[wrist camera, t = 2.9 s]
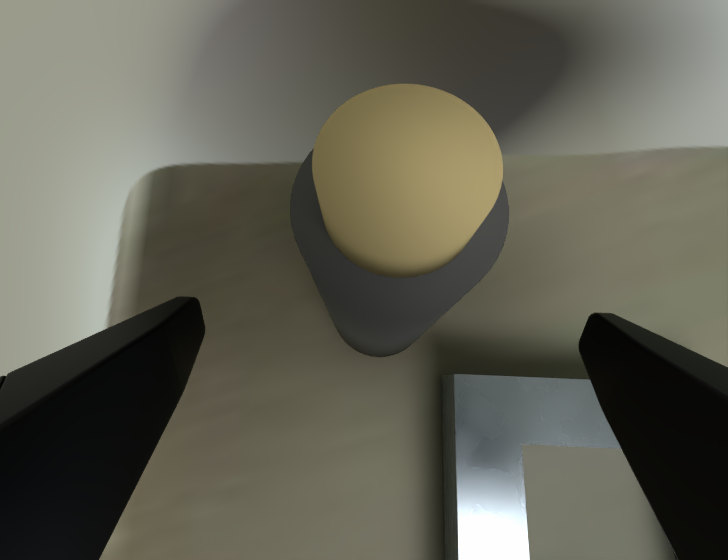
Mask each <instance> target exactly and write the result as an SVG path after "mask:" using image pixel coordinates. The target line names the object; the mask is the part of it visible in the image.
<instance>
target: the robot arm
mask: <svg viewBox="0 0 728 560" xmlns="http://www.w3.org/2000/svg"><path fill="white" fill-rule="evenodd" d="M204 335H205V324H204V320H203V315H202V311H201V306H200V303H199V300H198V299H197V298H195V297H184V296H180V297H176V298H174V299H171V300H169V301H167V302H165V303H163V304H160V305H158V306H156V307H154V308H151V309H149V310H147V311H145V312H143V313H140V314H138V315H136V316H134V317H132V318H129V319H127V320H125V321H123V322H121V323H118V324H116V325H114V326H112V327H109V328H107V329H105V330H103V331H101V332H98V333H96V334H94V335H92V336H90V337H88V338H85V339H83V340H81V341H79V342H77V343H74V344H72V345H70V346H68V347H65V348H63V349H61V350H59V351H57V352H54V353H52V354H50V355H48V356H46V357H43V358H41V359H39V360H37V361H34V362H32V363H30V364H28V365H25V366H23V367H21V368H19V369H17V370H14V371H12V372H10V373H8V374H7V376H1V377H0V560H99V558H100V556H101V554H102V553H103V551H104V549H105V547H106V545H107V543H108V541H109V539H110V537H111V535H112V533H113V531H114V529H115V527H116V525H117V523H118V521H119V519H120V517H121V515H122V513H123V511H124V509H125V507H126V505H127V503H128V501H129V499H130V497H131V495H132V493H133V491H134V489H135V487H136V485H137V483H138V481H139V479H140V477H141V475H142V473H143V471H144V469H145V467H146V465H147V463H148V461H149V460H150V458H151V456H152V454H153V452H154V450H155V448H156V446H157V444H158V442H159V440H160V438H161V436H162V434H163V432H164V430H165V428H166V426H167V424H168V422H169V420H170V418H171V416H172V414H173V412H174V410H175V408H176V406H177V404H178V402H179V400H180V398H181V396H182V394H183V391H184V389H185V387H186V384H187V381H188V379H189V376H190V373H191V371H192V368H193V365H194V362H195V360H196V357H197V354H198V352H199V349H200V346H201V343H202V341H203V338H204ZM579 352H580V355H581V357H582V360H583V362H584V365H585V368H586V370H587V373H588V376H589V378H590V381H591V383H592V386H593V389H594V391H595V394H596V397H597V399H598V402H599V404H600V406H601V409H602V411H603V413H604V415H605V417H606V419H607V422H608V423H609V425H610V427H611V429H612V431H613V433H614V435H615V437H616V439H617V441H618V443H619V445H620V447H621V449H622V451H623V453H624V455H625V457H626V459H627V461H628V463H629V465H630V467H631V469H632V471H633V473H634V475H635V476H636V478H637V480H638V482H639V484H640V486H641V488H642V490H643V492H644V494H645V496H646V498H647V500H648V502H649V504H650V506H651V508H652V510H653V512H654V514H655V516H656V518H657V520H658V522H659V524H660V526H661V527H662V529H663V531H664V533H665V535H666V537H667V539H668V541H669V543H670V545H671V547H672V549H673V551H674V553H675V555H676V557H677V559H678V560H728V367H726V366H723V365H721V364H719V363H717V362H715V361H713V360H711V359H708V358H706V357H704V356H702V355H700V354H698V353H696V352H694V351H691V350H689V349H687V348H685V347H683V346H681V345H679V344H677V343H674V342H672V341H670V340H668V339H666V338H664V337H662V336H659V335H657V334H655V333H653V332H651V331H649V330H647V329H645V328H642V327H640V326H638V325H636V324H634V323H632V322H630V321H627V320H625V319H623V318H621V317H619V316H617V315H615V314H612V313H593V314H591V315H590V316H589V318H588V320H587V322H586V325H585V328H584V330H583V333H582V335H581V338H580V341H579Z"/></svg>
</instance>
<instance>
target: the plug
mask: <svg viewBox="0 0 728 560" xmlns="http://www.w3.org/2000/svg"><path fill="white" fill-rule="evenodd" d="M502 178H503V162H502V155H501V151H500V148H499V145H498V142H497V140H496V138H495V135H494V133H493V132H492V130H491V129H490V127H489V125H488V124H487V123H486V121H485V120H484V119H483V118H482V117H481V116H480V114H479V113H477V112H476V111H475V110H474V109H473V108H472V107H471V106H469V105H468V104H467V103H465V102H464V101H463V100H460V99H459V98H457V97H456V96H454V95H452V94H449V93H447V92H445V91H442V90H439V89H436V88H433V87H428V86H424V85H416V84H393V85H385V86H381V87H377V88H373V89H370V90H367V91H365V92H362V93H360V94H359V95H356V96H354V97H353V98H351V99H350V100H348V101H347V102H345V103H344V104H342V106H340V107H339V108H338V109H337V110H335V112H334V113H333V114H332V115H331V116H330V117H329V118H328V120H327V121H326V123H325V124H324V125H323V127H322V129H321V131H320V133H319V135H318V137H317V140H316V143H315V146H314V149H313V150H312V151H311V152H310V153H309V155H308V156H307V158H306V159H305V161H304V162H303V164H302V166H301V168H300V170H299V172H298V174H297V176H296V179H295V182H294V185H293V189H292V195H291V205H290V215H291V224H292V229H293V232H294V236H295V240H296V242H297V244H298V247H299V249H300V251H301V254H302V256H303V258H304V260H305V262H306V264H307V266H308V268H309V271H310V273H311V275H312V277H313V279H314V281H315V283H316V285H317V288H318V290H319V292H320V294H321V296H322V298H323V300H324V302H325V305H326V307H327V309H328V311H329V313H330V315H331V317H332V319H333V322H334V324H335V326H336V328H337V330H338V332H339V334H340V335H341V337H342V338H343V340H344V341H345V342H346V343H347V344H348V345H349V346H351V347H352V348H353V349H355V350H356V351H358V352H360V353H363V354H365V355H369V356H376V357H385V356H390V355H394V354H397V353H399V352H401V351H403V350H405V349H406V348H407V347H409V346H410V345H411V344H412V343H413V342H414V341H415V340H417V339H418V338H419V337H420V336H421V335H422V334H423V333H424V332H425V331H426V330H427V329H428V328H429V327H431V326H432V325H433V324H434V323H435V322H436V321H437V320H438V319H439V318H440V317H441V316H442V315H444V314H445V313H446V312H447V311H448V310H449V309H450V308H451V307H452V306H453V305H454V304H455V303H456V302H458V301H459V300H460V299H461V298H462V297H463V296H464V295H465V294H466V293H467V292H468V291H469V290H471V289H472V288H473V287H474V286H475V285H476V284H477V283H478V282H479V281H480V280H481V279H482V278H483V277H484V276H485V275H486V274H487V272H488V271H489V270H490V269H491V267H492V266H493V264H494V263H495V261H496V260H497V258H498V256H499V254H500V252H501V250H502V247H503V245H504V241H505V238H506V235H507V229H508V222H509V206H508V199H507V193H506V190H505V187H504V183H503V181H502Z"/></svg>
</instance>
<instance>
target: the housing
mask: <svg viewBox="0 0 728 560" xmlns="http://www.w3.org/2000/svg"><path fill="white" fill-rule="evenodd" d="M442 420H443V483H444V547H445V560H529V546H528V531H527V517H526V502H525V488H524V474H523V459H522V445H521V444H530V445H553V446H575V447H598V448H620V449H621V447H620V445H619V443H618V441H617V439H616V437H615V435H614V433H613V431H612V429H611V427H610V425H609V423H608V422H607V419H606V417H605V415H604V413H603V411H602V409H601V406H600V404H599V402H598V399H597V397H596V394H595V391H594V389H593V386H592V383H591V381H590V380H587V379H564V378H540V377H516V376H492V375H469V374H450V375H444V376H442ZM676 560H678V559H677V557H676Z"/></svg>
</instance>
